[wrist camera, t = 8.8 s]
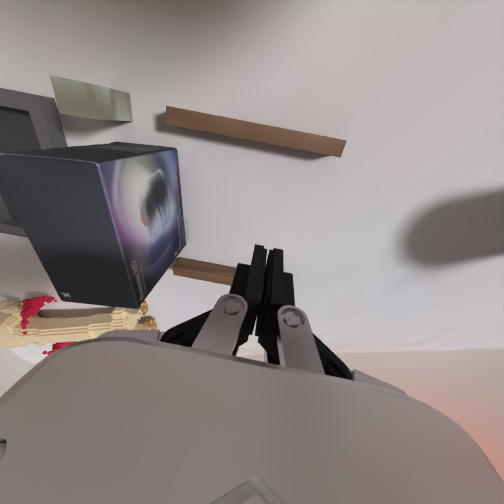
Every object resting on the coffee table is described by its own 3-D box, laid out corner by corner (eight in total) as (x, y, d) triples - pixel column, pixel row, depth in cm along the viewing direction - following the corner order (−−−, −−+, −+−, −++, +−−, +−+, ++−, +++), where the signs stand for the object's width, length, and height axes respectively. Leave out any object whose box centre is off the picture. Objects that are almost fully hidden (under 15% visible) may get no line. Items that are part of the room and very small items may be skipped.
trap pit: (-65, 75, 18) (-91, 71, 17) (54, 98, 18) (37, 96, 17) (9, 226, 25) (-5, 231, 24) (93, 242, 25) (83, 248, 24)
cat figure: (142, 279, 30) (-16, 294, 32) (104, 330, 22) (-101, 345, 24) (165, 326, 35) (28, 337, 37) (140, 381, 27) (-32, 391, 29)
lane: (105, 88, 17) (49, 75, 13) (341, 134, 17) (363, 135, 13) (133, 258, 26) (105, 284, 22) (289, 288, 26) (291, 319, 22)
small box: (190, 246, 24) (141, 314, 16) (136, 240, 25) (58, 304, 16) (181, 146, 19) (97, 162, 10) (112, 140, 19) (-28, 150, 10)
